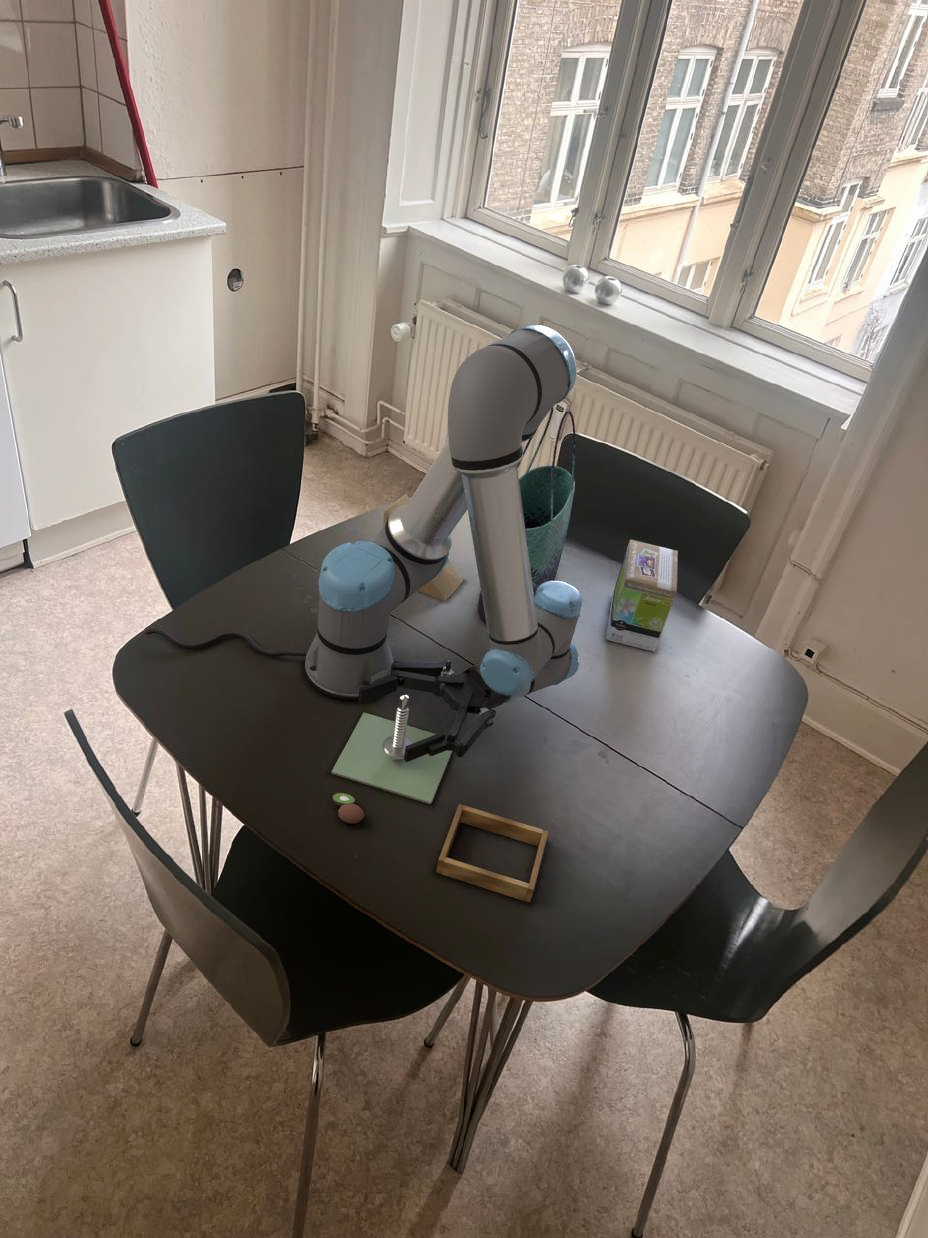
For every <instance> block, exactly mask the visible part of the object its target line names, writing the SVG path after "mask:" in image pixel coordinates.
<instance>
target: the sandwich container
mask: <svg viewBox="0 0 928 1238" xmlns="http://www.w3.org/2000/svg"><path fill="white" fill-rule="evenodd" d="M410 499H411V498H409V496H408V494H407V493H404V494H403V495H402V496H401V497H400V498H399V499H398V500H396V501H395V502H393V503H392V504H391V505H390V506H388V507H387V508H386V509H385V510H384V512H383V520H382V521H383V522H382V527H383V526H384V524H385V522H386V521H387V519H388V518H389V516H390V514H391V513H392V511H393V510H394V509H396V508H397V507H400V506H403V505H407V504H408V503H409V501H410ZM463 582H464V581H463V579H462V578H461V576H460V575H459V574H458V572H457V571H456V569H455V568H454V566H453V565H452V563H451V562H450V560H449V558H448V559H447V562H446V564H445V565H444V567H443V568H442V570H441V571H440V573H439V574H438V575H437V576H436V577H435V578H434V579H432V580H430V581H429V582H427V583H426V584H425V585H424V586H422V587H421V588H420V589H419V590H418V591H417V592H420V593H423V594H426V595H428V596H430V597H433V598H435V599H439V600H440V601H443V602H446V601H447V600H448V599H449V598H450V597H451V596H452V595H453V594H454V593H455V592H456V591H457V590H458V588H459V587H460V586H461V584H462V583H463Z"/></svg>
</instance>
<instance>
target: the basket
mask: <svg viewBox="0 0 928 1238" xmlns="http://www.w3.org/2000/svg"><path fill="white" fill-rule="evenodd" d="M549 412H550V413H549V416H548V419H547V422H546V425H545V427H544V430H543V433H542V435H541V438H540V440H539V442H538V444H537V447H536V449H535V452H534V454H533V456H532V458H531V461H529V465H528V467H527V469H526V471H525V472H524V474H523V475H522V476H519V485H520V492H521V500H522V508H523V516H524V523H525V531H526V539H527V547H528V554H529V562H530V570H531V578H532V585H533V593H534V597H535V594H536V591H537V589H538V587H539V586H540V585H541V584H543V583H545V582H548V581H556V578H557V575H558V571H559V566H560V562H561V558H562V553H563V549H564V546H565V542H566V537H567V533H568V529H569V523H570V519H571V513H572V507H573V501H574V495H575V489H576V482H575V468H576V445H577V444H576V443H577V442H576V425H575V418H574V415H573V413H572V411H571V410H566V411H565V412H564V413H563V415H562V417H561V420H560V422H559V426H558V429H557V433H556V436H555V437H556V438H555V443H554V448H553V455H552V462H551V465H542V466H538V467H535V468H532V469H531V467H532V465H533V463H534V461H535V459H536V457H537V455H538V452H539V450H540V447H541V445H542V443H543V441H544V439H545V436H546V434H547V432H548V428H549V426H550V424H551V420H552V418H553V414H554V406H553V407H552V409H551V410H550V411H549ZM568 414H569V416H570V418H571V425H572V443H573V444H572V468H571V473H570V472H569V471H568V470H566V469H565V468H563V467H561V466H559V465H555V463H556V457H557V449H558V444H559V439H560V436H561V435H560V434H561V430H562V427H563V424H564V421H565V418H566V417H567V415H568ZM539 427H540V425H539V426H538V428H537V429H536V430H535V432H534V433H533V435H532V436H531V437H530V438H529V439H528V440H527V442H526V444H525V446H524V448H523V457H524V456H525V455H526V452H527V450H528V448H529V446H530V444H531V442H532V440H533V438H534V436H535V435H536V433H537V431H538V429H539ZM522 461H523V458H522V459H521V461H520V462H519V463H518V465H517V469H518V470H519V468H520V465H521V463H522ZM476 611H477V616H478V617H479V620H480V621H482V622H483V623H484V624H486V618H485V612H484V605H483V599H482V593H481V589H480V592H479V597H478V602H477V608H476Z"/></svg>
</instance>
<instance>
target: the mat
mask: <svg viewBox="0 0 928 1238" xmlns="http://www.w3.org/2000/svg"><path fill="white" fill-rule="evenodd" d="M394 726H395V720H390V719H387V718H384V717H381V716H378V715H374V714H370V713H367V712H362V714H361V716H360V718H359V720H358V721H357V724H356V726H355V728H354V730H353V731H352V733H351V735H350V737H349V739H348V741H347V742H346V743H345V746H344V748H343V750H342V752H341V753H340V755H339V756H338V758H337V761H336V762H335V764H334V766H333V768H332V769H331V772H330V773H331V775H334V776H336V777H340V778H344V779H347V780H349V781H353V782H357V783H359V784H363V785H366V786H369V787H372V788H376V789H379V790H382V791H385V792H388V793H391V794H395V795H399V796H401V797H403V798H407V799H411V800H415V801H417V802H421V803H423V804H427V805H430V806H431V805H432V804H433V800H434V799H435V796H436V794H437V791H438V788H439V786H440V784H441V781H442V778H443V776H444V773H445V771H446V768H447V766H448V763H449V761H450V758H451V757H452V753H453V751H448V750H447V751H444V752H442V753H439V754H437V755H434V756H429V754H426V755H424V756H421V757H419V758H416V759H414V760H411V761H409V762H406V761H405V760H404V759H403V760H402V761H392V760H391V758H390V757H388V756H387V755H386V754H385V753H384V752H383V749H382V744H383V741H384V740H385V739H386V738H387V737H389V736H392V735H393V734H394ZM436 734H437V733H434V732H431V731H427V730H424V729H420V728H417V727H414V726H411V725H408V724H407V728H406V734H405V737H406V738H408V739H409V740H410V741H411V742H412V744H413V743H415V742H418V741H420V740H423V739H426V738H428V737H431V736H433V735H436ZM446 737H447V736H445V738H446Z"/></svg>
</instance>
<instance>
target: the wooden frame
mask: <svg viewBox="0 0 928 1238" xmlns="http://www.w3.org/2000/svg"><path fill="white" fill-rule="evenodd" d="M461 823H462V824H464V825H468V826H471V827H474V828H477V829H482V830H484V831H487V832H491V833H494V834H496V835H500V836H504V837H506V838H510V839H513V840H516V841H520V842H522V843H526V844H528V845H532V846H535V847H537V851H536V854H535V858H534V861H533V865H532V869H531V873H530V877H529V881H528V882H525V881H522V880H518V879H516V878H512V877H510V876H506V875H503V874H501V873H500V874H499V873H496V872H493V871H490V870H488V869H484V868H481V867H478V866H475V865H472V864H469V863H467V862H466V863H465V862H462V861H459V860H455V859H453V858H450V857H449V854H450V852H451V849H452V845H453V843H454V840H455V837H456V834H457V832H458V829H459V827H460V824H461ZM548 835H549V831H548V830H545V829H542V828H538V827H536V826H532V825H529V824H525V823H523V822H519V821H516V820H512V819H510V818H506V817H504V816H500V815H496V814H493V813H490V812H487V811H484V810H480V809H478V808H474V807H470V806H468V805H464V804H461V803H458V806H457V807H456V810H455V814H454V816H453V819H452V822H451V825H450V827H449V830H448V833H447V836H446V838H445V840H444V843H443V845H442V849H441V851H440V854H439V857H438V860H437V865H436V871H435V873H436V874H439V875H442V876H445V877H449V878H451V879H454V880H457V881H461V882H464V883H466V884H470V885H473V886H476V887H479V888H483V889H486V890H489V891H492V892H494V893H498V894H501V895H504V896H507V897H509V898H514V899H517V900H520V901H522V902H526V903H531V901H532V898H533V894H534V891H535V887H536V883H537V879H538V875H539V871H540V868H541V863H542V859H543V855H544V851H545V847H546V843H547V840H548Z"/></svg>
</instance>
